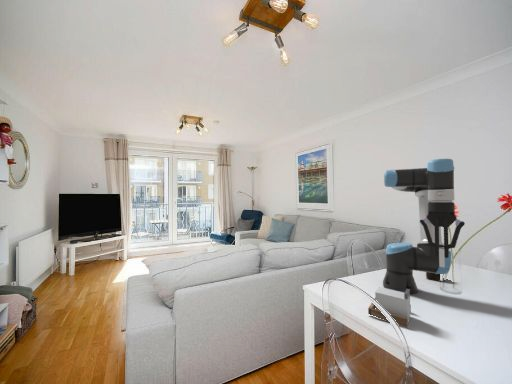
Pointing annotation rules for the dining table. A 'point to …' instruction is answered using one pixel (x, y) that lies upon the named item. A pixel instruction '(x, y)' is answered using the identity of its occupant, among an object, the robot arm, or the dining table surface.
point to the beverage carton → (432, 276)
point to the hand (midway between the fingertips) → (442, 265)
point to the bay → (372, 311)
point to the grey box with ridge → (394, 301)
